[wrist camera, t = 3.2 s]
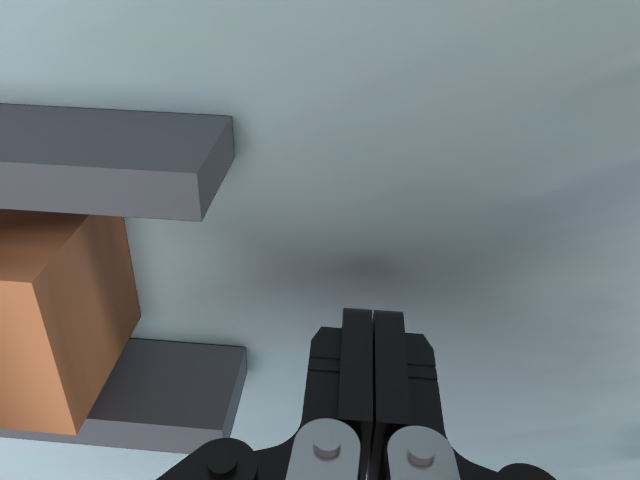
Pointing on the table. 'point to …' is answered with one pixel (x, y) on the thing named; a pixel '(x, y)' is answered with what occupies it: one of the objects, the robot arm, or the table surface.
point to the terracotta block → (61, 315)
